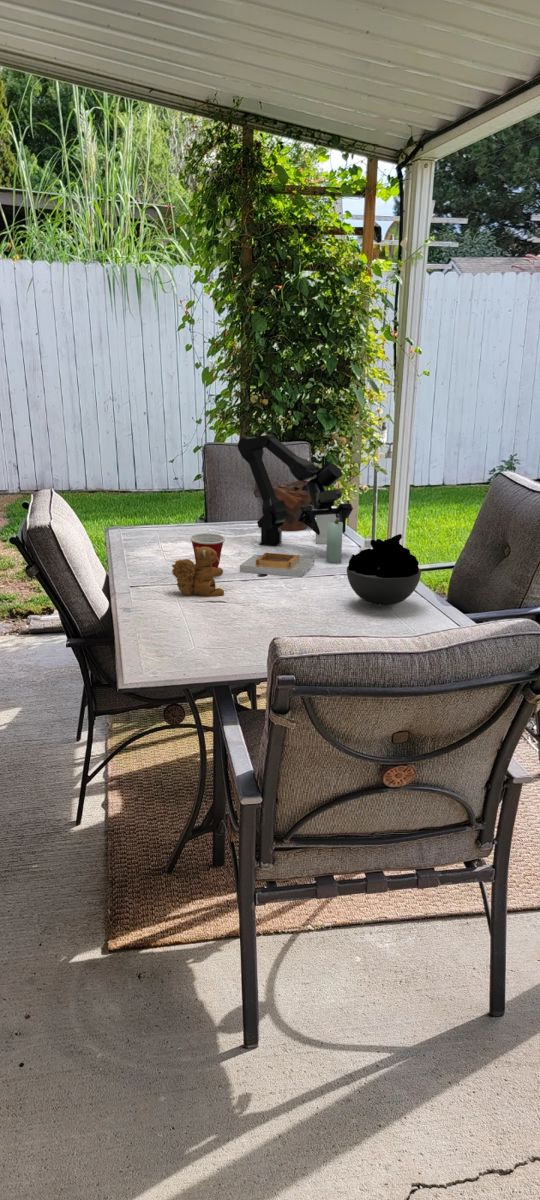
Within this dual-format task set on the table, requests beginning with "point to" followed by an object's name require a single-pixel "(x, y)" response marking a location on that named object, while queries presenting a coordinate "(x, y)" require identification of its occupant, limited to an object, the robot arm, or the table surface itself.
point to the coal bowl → (384, 572)
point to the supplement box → (323, 527)
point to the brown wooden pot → (293, 503)
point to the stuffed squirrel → (198, 574)
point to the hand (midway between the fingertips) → (331, 533)
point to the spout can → (334, 541)
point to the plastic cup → (208, 543)
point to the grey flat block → (277, 564)
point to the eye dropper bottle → (366, 544)
